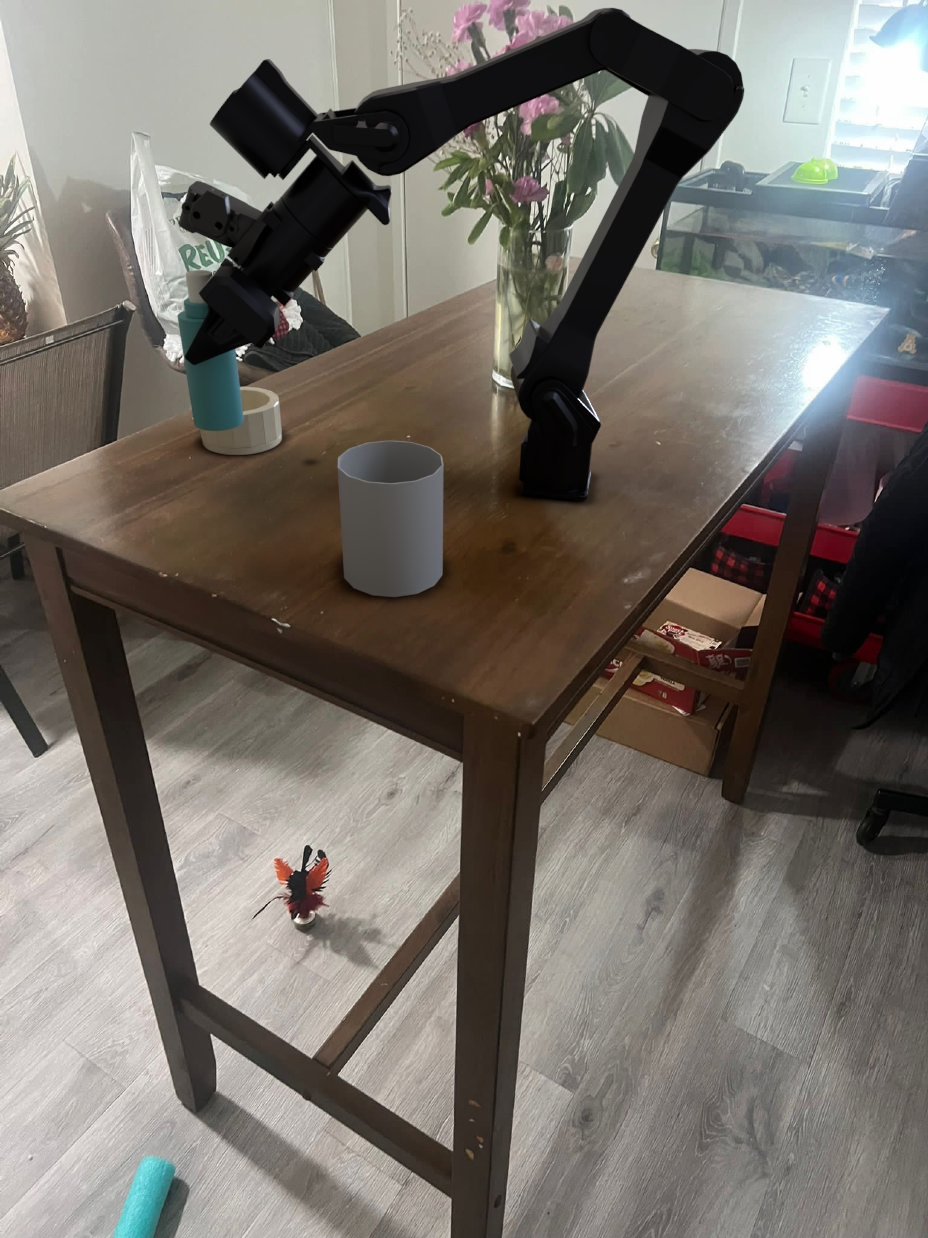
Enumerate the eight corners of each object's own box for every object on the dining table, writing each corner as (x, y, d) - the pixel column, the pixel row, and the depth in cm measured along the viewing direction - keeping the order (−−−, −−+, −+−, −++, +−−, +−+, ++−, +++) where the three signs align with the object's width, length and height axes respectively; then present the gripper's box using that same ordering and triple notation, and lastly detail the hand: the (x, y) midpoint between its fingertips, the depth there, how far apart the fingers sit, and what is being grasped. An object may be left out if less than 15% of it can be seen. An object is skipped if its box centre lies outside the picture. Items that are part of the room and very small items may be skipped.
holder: (293, 428, 103) (289, 390, 100) (265, 458, 96) (261, 417, 93) (221, 422, 104) (216, 383, 101) (189, 451, 97) (182, 410, 94)
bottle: (254, 418, 86) (237, 271, 79) (221, 434, 83) (200, 281, 76) (217, 409, 88) (197, 264, 81) (183, 424, 85) (159, 274, 77)
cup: (418, 605, 72) (418, 491, 67) (326, 585, 75) (318, 473, 69) (456, 557, 79) (458, 449, 74) (370, 539, 81) (366, 434, 76)
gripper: (247, 133, 81) (143, 262, 86) (211, 161, 65) (87, 316, 71) (341, 228, 86) (236, 345, 91) (328, 275, 70) (203, 413, 76)
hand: (194, 352), depth 82 cm, fingers closed on bottle, 4 cm apart
